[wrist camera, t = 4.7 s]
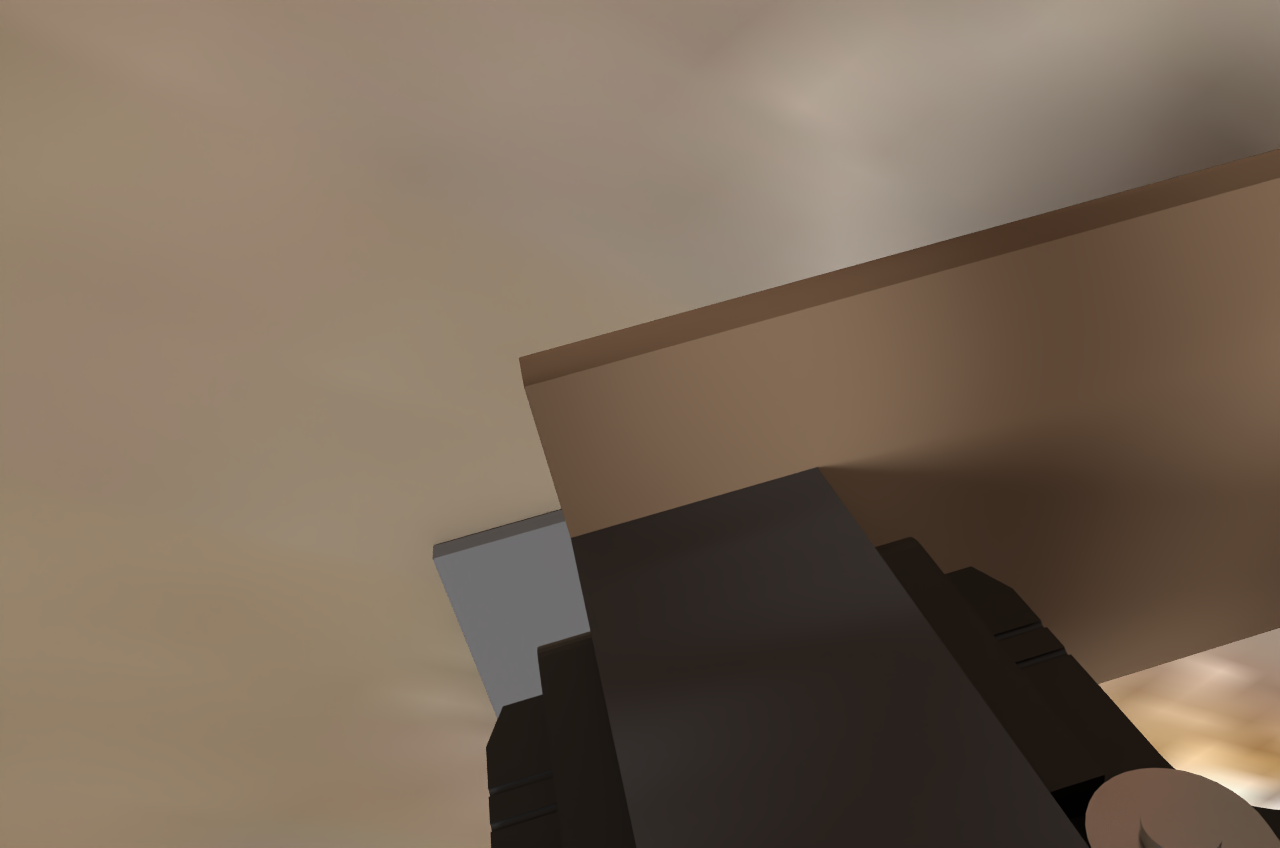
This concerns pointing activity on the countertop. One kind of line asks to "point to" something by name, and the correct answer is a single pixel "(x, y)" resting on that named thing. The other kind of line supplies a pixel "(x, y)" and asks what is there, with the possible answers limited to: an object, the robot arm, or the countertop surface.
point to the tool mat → (513, 599)
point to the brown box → (919, 507)
